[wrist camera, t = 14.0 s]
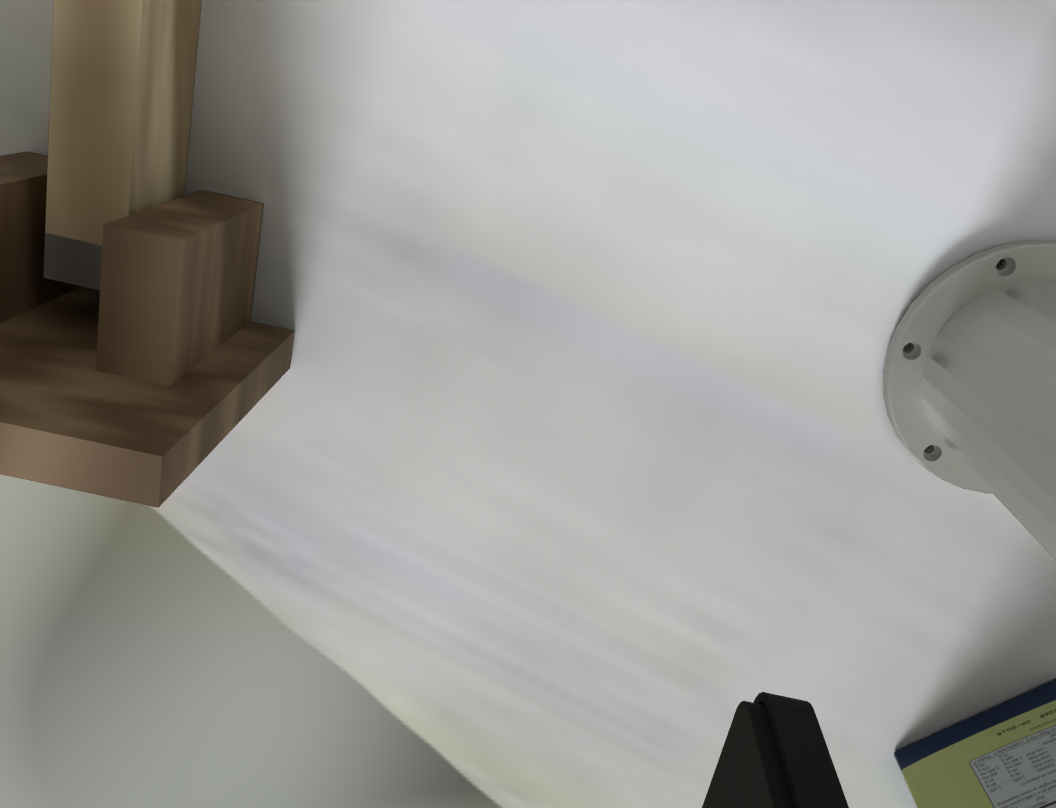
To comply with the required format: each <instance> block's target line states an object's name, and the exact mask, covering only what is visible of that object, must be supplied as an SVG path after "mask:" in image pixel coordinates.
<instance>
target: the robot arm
mask: <svg viewBox="0 0 1056 808" xmlns="http://www.w3.org/2000/svg"><path fill="white" fill-rule="evenodd" d="M1001 259H1002V260H1003V264H1002V265H1001V266H1000V267H999V268H996V264H997V263H998V262H999V260H1001ZM908 343H911V347H910V348H909V349H908V350H903V348H904V347H905V345H906V344H908ZM883 396H884V400H885V405H886V410H887V414H888V417H889V420H890V422H891V424H892V426H893V428H894V430H895V433H896V435H897V436H898V438H899V439H900V440H901V442H902V443H903V445H904V446H905V447H906V449H907V450H908V451H909V452H910V453H911V455H912V456H913V457H914V458H915V459H916V460H917V461H918V462H919V463H920V464H921V465H922V466H923V467H924V468H926V469H927V470H929V471H930V472H932V473H933V474H934V475H936V476H937V477H939V478H940V479H942V480H944V481H947V482H949V483H951V484H954V485H956V486H958V487H961V488H963V489H968V490H973V491H977V492H982V493H989V494H994V495H995V496H996V498H997V499H998V500H999V501H1000V502H1001V503H1002V504H1003V505H1004V506H1005V507H1006V508H1007V509H1008V510H1009V511H1010V512H1011V514H1012V515H1013V516H1014V517H1015V518H1016V519H1017V520H1018V521H1019V522H1020V523H1021V524H1022V525H1023V526H1024V527H1025V528H1026V530H1027V531H1028V532H1029V533H1030V534H1031V535H1032V536H1033V537H1034V538H1035V539H1036V540H1037V541H1038V542H1039V543H1040V544H1041V546H1042V547H1043V548H1044V549H1045V550H1046V551H1047V552H1048V553H1049V554H1050V555H1051V556H1052V557H1053V558H1054V559H1055V560H1056V241H1023V242H1016V243H1010V244H1003V245H1000V246H997V247H994V248H991V249H988V250H985V251H982V252H979V253H976V254H974V255H972V256H970V257H968V258H967V259H965V260H963V261H961V262H959V263H957V264H955V265H954V266H952V267H950V268H949V269H948V270H946V271H945V272H944V273H943V274H941V275H940V276H939V277H937V278H936V279H935V280H934V281H932V282H931V283H930V284H929V285H928V286H927V287H926V288H925V289H924V290H923V291H922V292H921V293H920V295H919V296H918V297H917V298H916V299H915V300H914V301H913V302H912V303H911V305H910V306H909V308H908V309H907V311H906V313H905V314H904V316H903V317H902V319H901V320H900V322H899V323H898V325H897V327H896V330H895V332H894V335H893V337H892V339H891V342H890V344H889V347H888V350H887V355H886V360H885V365H884V370H883ZM930 445H931V447H930V448H929V449H928V450H925V449H926V447H928V446H930ZM702 808H849V807H848V804H847V801H846V799H845V796H844V793H843V790H842V787H841V785H840V782H839V779H838V776H837V773H836V771H835V768H834V765H833V762H832V759H831V757H830V754H829V751H828V748H827V745H826V742H825V740H824V737H823V734H822V731H821V728H820V726H819V723H818V720H817V717H816V714H815V712H814V709H813V707H812V705H811V704H810V703H809V702H807V701H803V700H798V699H793V698H789V697H784V696H779V695H774V694H770V693H765V692H762V693H759V694H758V696H757V697H756V698H755V700H754V703H751V702H746V701H742V702H741V703H740V704H739V705H738V708H737V710H736V712H735V715H734V718H733V721H732V724H731V727H730V729H729V732H728V735H727V738H726V741H725V744H724V747H723V749H722V752H721V755H720V758H719V761H718V764H717V767H716V769H715V772H714V775H713V778H712V781H711V784H710V787H709V789H708V792H707V795H706V798H705V801H704V804H703V807H702Z"/></svg>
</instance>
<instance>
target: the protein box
mask: <svg viewBox="0 0 1056 808" xmlns="http://www.w3.org/2000/svg"><path fill="white" fill-rule="evenodd" d="M894 756H895V758H896V760H897V763H898V765H899V767H900V769H901V771H902V774H903V776H904V779H905V781H906V783H907V785H908V788H909V790H910V792H911V795H912V797H913V799H914V801H915V804H916V806H917V808H1056V679H1055V680H1053V681H1051V682H1049V683H1047V684H1044V685H1042V686H1040V687H1038V688H1036V689H1033V690H1031V691H1029V692H1027V693H1024V694H1022V695H1020V696H1018V697H1016V698H1013V699H1011V700H1009V701H1007V702H1005V703H1002V704H1000V705H998V706H995V707H993V708H991V709H989V710H987V711H985V712H982V713H980V714H978V715H976V716H973V717H971V718H969V719H967V720H964V721H962V722H960V723H958V724H956V725H954V726H952V727H949V728H947V729H945V730H943V731H940V732H938V733H936V734H934V735H932V736H930V737H927V738H925V739H923V740H921V741H918V742H916V743H914V744H912V745H909V746H907V747H905V748H903V749H900V750H898V751H896V752H894Z"/></svg>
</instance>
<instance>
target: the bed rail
mask: <svg viewBox="0 0 1056 808" xmlns="http://www.w3.org/2000/svg"><path fill="white" fill-rule="evenodd" d="M200 11H201V0H54V6H53V33H52V61H51V88H50V115H49V142H48V170H47V197H46V224H45V251H44V278H47V279H52V280H56V281H61V282H65V283H70V284H74V285H79V286H83V287H87V288H92V289H96V290H100V281H101V261H102V242H103V224H106V223H108V222H111V221H114V220H117V219H120V218H123V217H126V216H129V215H131V214H134V213H137V212H140V211H143V210H146V209H149V208H152V207H154V206H157V205H160V204H163V203H166V202H169V201H172V200H175V199H178V198H180V197H183V196H184V194H185V183H186V171H187V160H188V148H189V137H190V126H191V114H192V103H193V91H194V80H195V68H196V57H197V46H198V34H199V23H200Z"/></svg>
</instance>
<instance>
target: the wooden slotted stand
mask: <svg viewBox="0 0 1056 808" xmlns="http://www.w3.org/2000/svg"><path fill="white" fill-rule="evenodd" d="M47 170H48V156H45V155H40V154H36V153H31V152H21V153H15V154H9V155H3V156H0V474H2V475H7V476H11V477H16V478H21V479H26V480H30V481H35V482H40V483H45V484H49V485H55V486H59V487H64V488H68V489H73V490H78V491H82V492H87V493H92V494H97V495H101V496H106V497H111V498H116V499H120V500H126V501H130V502H134V503H139V504H144V505H148V506H153V507H158V508H159V507H160V505H161V504H162V503H163V502H164V501H165V500H166V499H167V498H168V497H169V496H170V495H171V494H172V493H173V492H174V491H175V490H176V488H177V487H178V486H179V485H180V484H181V483H182V482H183V481H184V480H185V479H186V478H187V477H188V476H189V475H190V474H191V473H192V471H193V470H194V469H195V468H196V467H197V466H198V465H199V464H200V463H201V462H202V461H203V460H204V459H205V458H206V457H207V456H208V454H209V453H210V452H211V451H212V450H213V449H214V448H215V447H216V446H217V445H218V444H219V443H220V442H221V441H222V440H223V439H224V438H225V436H226V435H227V434H228V433H229V432H230V431H231V430H232V429H233V428H234V427H235V426H236V425H237V424H238V423H239V422H240V421H241V419H242V418H243V417H244V416H245V415H246V414H247V413H248V412H249V411H250V410H251V409H252V408H253V407H254V406H255V405H256V404H257V402H258V401H259V400H260V399H261V398H262V397H263V396H264V395H265V394H266V393H267V392H268V391H269V390H270V389H271V388H272V387H273V385H274V384H275V383H276V382H277V381H278V380H279V379H280V378H281V377H282V376H283V375H284V374H285V373H286V372H287V371H288V370H289V368H290V363H291V355H292V348H293V340H294V332H295V331H292V330H287V329H283V328H278V327H273V326H269V325H264V324H259V323H255V322H251V313H252V304H253V295H254V286H255V277H256V268H257V259H258V250H259V241H260V232H261V223H262V214H263V204H264V203H259V202H255V201H250V200H246V199H241V198H236V197H232V196H227V195H223V194H218V193H214V192H209V191H205V190H201V191H198V192H195V193H192V194H189V195H186V196H183V197H180V198H178V199H175V200H172V201H169V202H166V203H163V204H160V205H157V206H154V207H152V208H149V209H146V210H143V211H140V212H137V213H134V214H131V215H129V216H126V217H123V218H120V219H117V220H114V221H111V222H108V223H106V224H103V242H102V261H101V281H100V290H96V289H92V288H87V287H83V286H79V285H74V284H70V283H65V282H61V281H56V280H52V279H47V278H44V251H45V224H46V197H47Z"/></svg>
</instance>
